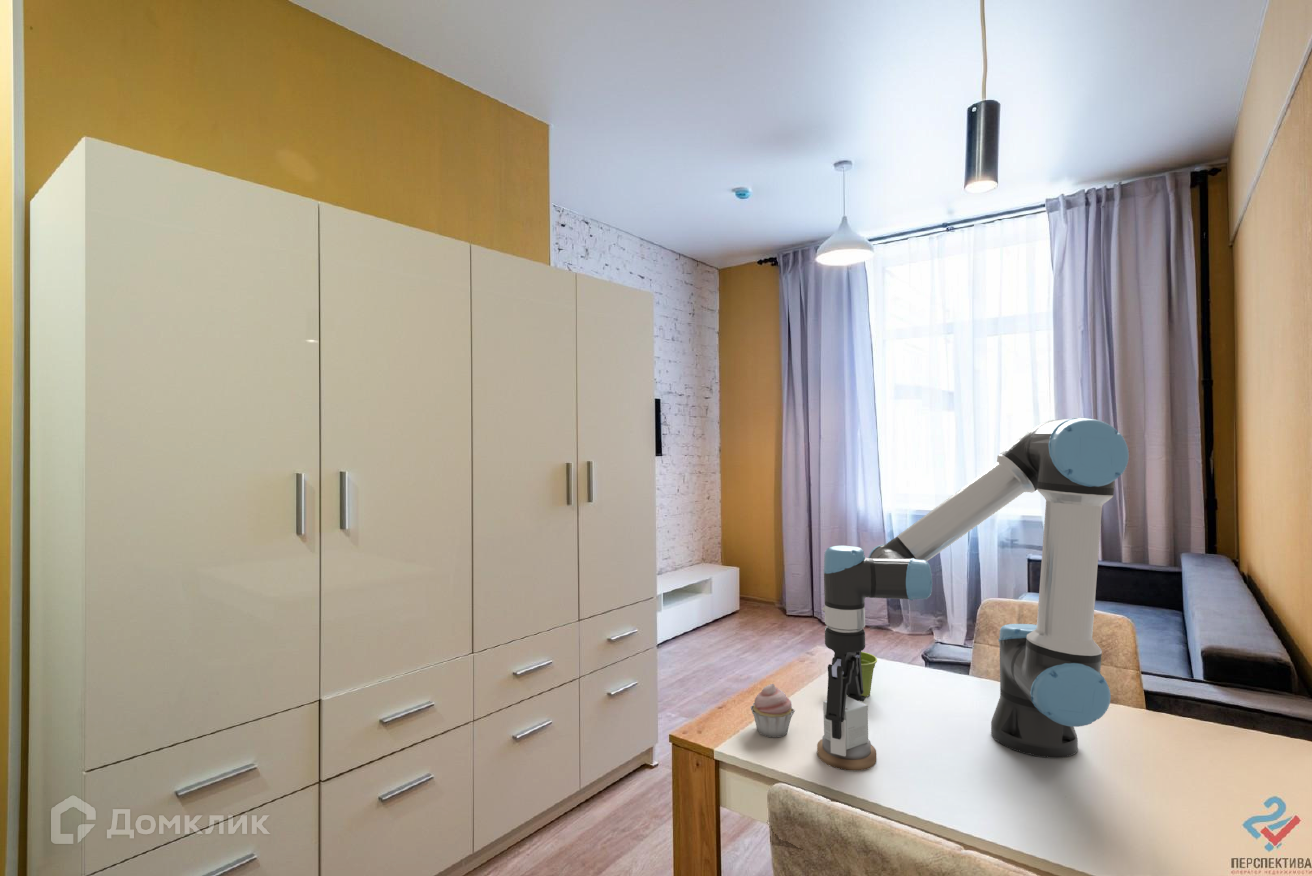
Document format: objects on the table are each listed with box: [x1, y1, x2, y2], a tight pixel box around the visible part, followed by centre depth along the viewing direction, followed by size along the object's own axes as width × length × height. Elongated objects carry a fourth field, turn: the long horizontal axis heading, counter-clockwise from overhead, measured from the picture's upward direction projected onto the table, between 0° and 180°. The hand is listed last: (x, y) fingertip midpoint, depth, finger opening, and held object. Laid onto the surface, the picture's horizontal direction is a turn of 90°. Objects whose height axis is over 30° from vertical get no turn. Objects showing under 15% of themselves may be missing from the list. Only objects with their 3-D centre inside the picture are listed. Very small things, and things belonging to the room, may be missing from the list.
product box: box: [822, 696, 869, 750], centre depth 126 cm, size 6×6×7 cm
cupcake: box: [750, 683, 796, 738], centre depth 137 cm, size 9×9×10 cm
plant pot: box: [861, 651, 878, 698], centre depth 157 cm, size 9×9×9 cm
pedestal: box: [816, 734, 877, 772], centre depth 126 cm, size 11×11×3 cm
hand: (846, 743), depth 126 cm, fingers closed on pedestal, 9 cm apart
